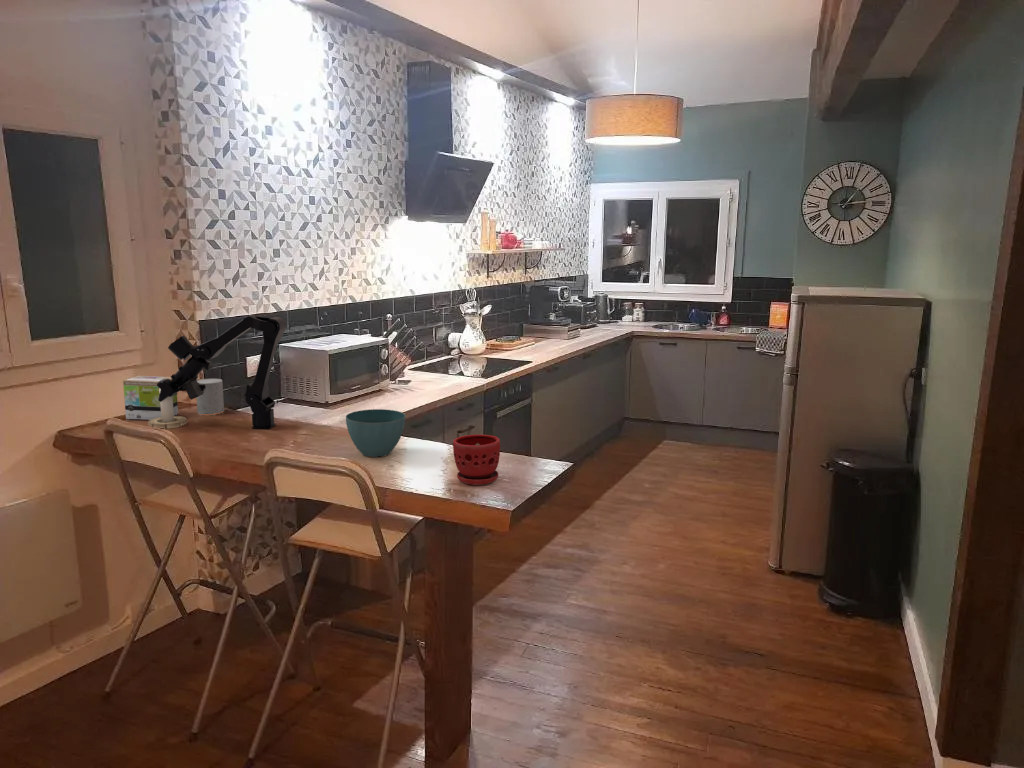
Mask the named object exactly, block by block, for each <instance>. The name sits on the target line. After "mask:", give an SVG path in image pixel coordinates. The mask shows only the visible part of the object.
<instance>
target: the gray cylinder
mask: <svg viewBox="0 0 1024 768" xmlns="http://www.w3.org/2000/svg"><path fill="white" fill-rule="evenodd" d="M196 380H197V382H198V383H199V384H205V386H206V389H205V390H204V391H203V392H204V393H203V395H201V396H199V397H196V398H195V399H196V409H197V410H196V411H197V413H199V414H214V413H219V412H222V411H224V412H225V401H224V388H223V385H224V384H223V381H224V380H222V379H221V378H203V379H202V378H201V379H196Z"/></svg>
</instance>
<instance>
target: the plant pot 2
mask: <svg viewBox="0 0 1024 768" xmlns="http://www.w3.org/2000/svg"><path fill="white" fill-rule="evenodd" d="M452 449H453V457H454V458H453V459H454V464H455V466H456V468H457V470H458V472H457V473H456V477H457V479H458V480H459V481H460V482H462V483H464V484H465V485H475V486H481V485H487V484H491V483H493V482H495V481H496V480H497V479H498V477H499V472H498V471H497V468H498V466H499V462H500V456H501V455H500V454H501V441H500V438H499V437H497V436H495V435H490V434H468V435H462V436H459V437H457V438H454V439H453V441H452Z"/></svg>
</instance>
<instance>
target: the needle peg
mask: <svg viewBox="0 0 1024 768" xmlns="http://www.w3.org/2000/svg"><path fill="white" fill-rule="evenodd" d="M160 391H161V389H160V388H159V393H160ZM160 405H161V418H162V422H166V423H168V422H172V421H174V411H173V398H172V397H167V398H166V399H164V400H163V401H162V402H160Z"/></svg>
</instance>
